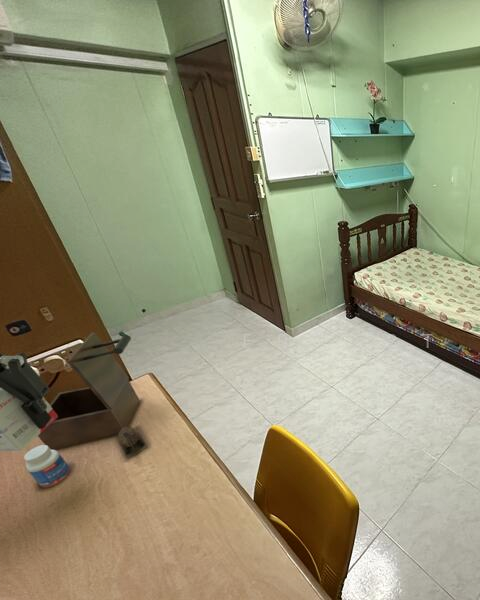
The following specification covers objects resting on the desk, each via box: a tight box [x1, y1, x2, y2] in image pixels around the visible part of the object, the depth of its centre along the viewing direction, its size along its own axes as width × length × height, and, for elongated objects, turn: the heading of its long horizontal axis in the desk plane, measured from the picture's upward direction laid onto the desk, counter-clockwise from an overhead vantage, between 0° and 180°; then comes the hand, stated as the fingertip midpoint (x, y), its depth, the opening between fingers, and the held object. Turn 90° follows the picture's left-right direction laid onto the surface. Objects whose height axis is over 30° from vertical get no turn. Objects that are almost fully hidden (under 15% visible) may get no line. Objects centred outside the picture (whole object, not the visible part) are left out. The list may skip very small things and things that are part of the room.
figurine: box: [117, 426, 148, 460], centre depth 83 cm, size 14×4×9 cm, turn 51°
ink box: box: [0, 388, 58, 453], centre depth 62 cm, size 9×5×12 cm, turn 2°
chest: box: [37, 379, 141, 451], centre depth 89 cm, size 17×13×10 cm
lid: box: [66, 331, 132, 410], centre depth 85 cm, size 17×13×9 cm
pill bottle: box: [23, 444, 71, 488], centre depth 75 cm, size 6×5×10 cm
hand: (24, 427), depth 64 cm, fingers closed on ink box, 6 cm apart
